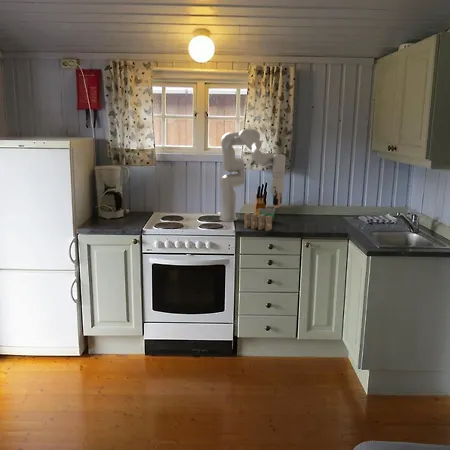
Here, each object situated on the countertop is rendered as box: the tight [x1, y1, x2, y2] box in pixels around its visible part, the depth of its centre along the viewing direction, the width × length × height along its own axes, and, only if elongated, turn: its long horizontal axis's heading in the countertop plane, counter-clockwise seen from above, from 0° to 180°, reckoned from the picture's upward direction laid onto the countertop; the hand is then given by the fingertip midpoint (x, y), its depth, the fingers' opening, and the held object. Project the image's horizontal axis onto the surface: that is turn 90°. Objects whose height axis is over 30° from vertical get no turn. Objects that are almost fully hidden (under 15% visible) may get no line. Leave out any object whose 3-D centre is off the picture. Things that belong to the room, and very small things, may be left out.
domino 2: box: [250, 213, 259, 230], centre depth 302 cm, size 2×5×9 cm, turn 151°
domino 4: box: [264, 215, 273, 232], centre depth 297 cm, size 2×5×9 cm, turn 151°
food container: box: [258, 207, 277, 224], centre depth 318 cm, size 12×6×10 cm, turn 112°
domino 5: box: [273, 193, 281, 209], centre depth 292 cm, size 2×5×9 cm, turn 151°
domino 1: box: [243, 212, 252, 229], centre depth 304 cm, size 2×5×9 cm, turn 151°
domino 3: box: [257, 214, 266, 231], centre depth 299 cm, size 2×5×9 cm, turn 151°
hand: (277, 203), depth 292 cm, fingers closed on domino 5, 4 cm apart
